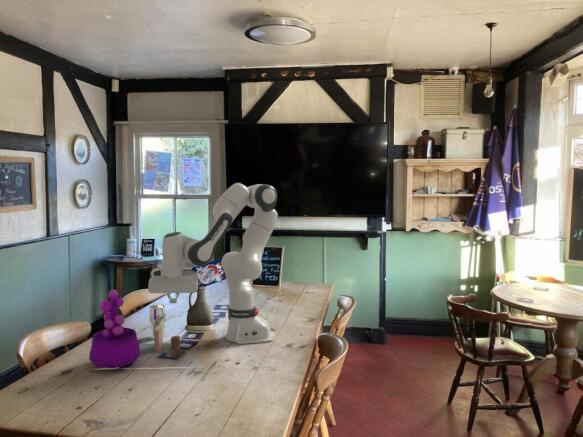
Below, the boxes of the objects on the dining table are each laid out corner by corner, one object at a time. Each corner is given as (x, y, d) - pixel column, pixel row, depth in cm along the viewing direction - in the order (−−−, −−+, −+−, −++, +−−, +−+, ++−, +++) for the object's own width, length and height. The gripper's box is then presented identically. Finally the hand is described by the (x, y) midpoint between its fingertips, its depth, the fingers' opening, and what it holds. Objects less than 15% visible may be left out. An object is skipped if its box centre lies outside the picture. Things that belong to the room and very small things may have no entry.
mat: (174, 344, 212) (174, 343, 211) (169, 354, 200) (169, 353, 200) (132, 345, 210) (132, 343, 210) (125, 355, 199) (125, 353, 199)
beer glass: (161, 341, 215) (160, 308, 214) (147, 340, 216) (146, 307, 215) (168, 336, 222) (167, 304, 220) (154, 335, 223) (153, 303, 222)
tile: (162, 345, 209) (162, 325, 208) (159, 351, 202) (158, 330, 201) (158, 345, 209) (157, 325, 208) (154, 351, 202) (154, 330, 201)
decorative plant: (91, 378, 177) (89, 298, 174) (87, 360, 193) (85, 287, 190) (144, 368, 185) (142, 292, 182) (136, 352, 202) (134, 282, 199)
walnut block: (180, 354, 200) (180, 336, 199) (179, 357, 197) (178, 338, 196) (172, 355, 200) (172, 336, 199) (171, 357, 196) (170, 338, 196)
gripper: (198, 269, 206) (199, 300, 208) (150, 269, 205) (151, 301, 206) (196, 272, 200) (197, 304, 201) (147, 272, 199) (147, 305, 200)
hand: (173, 302), depth 204 cm, fingers closed
